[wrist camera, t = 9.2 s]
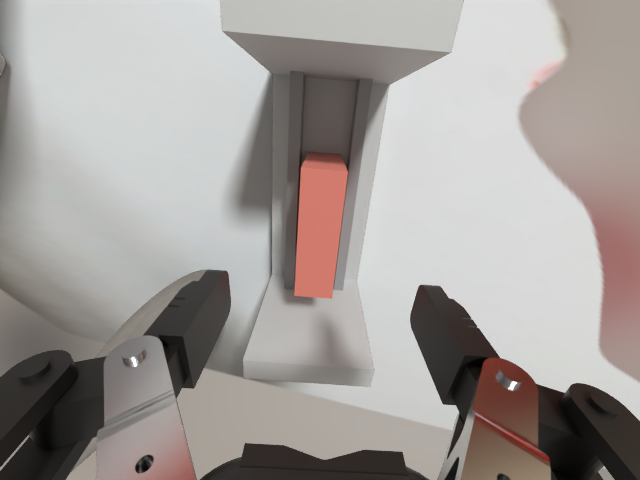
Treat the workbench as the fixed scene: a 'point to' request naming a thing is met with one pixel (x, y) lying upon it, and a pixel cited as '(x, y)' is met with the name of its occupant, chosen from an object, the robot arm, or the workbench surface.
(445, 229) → the workbench surface
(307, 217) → the red rectangular block
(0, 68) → the wall lamp
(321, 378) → the u-shaped grey holder
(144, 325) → the planter
